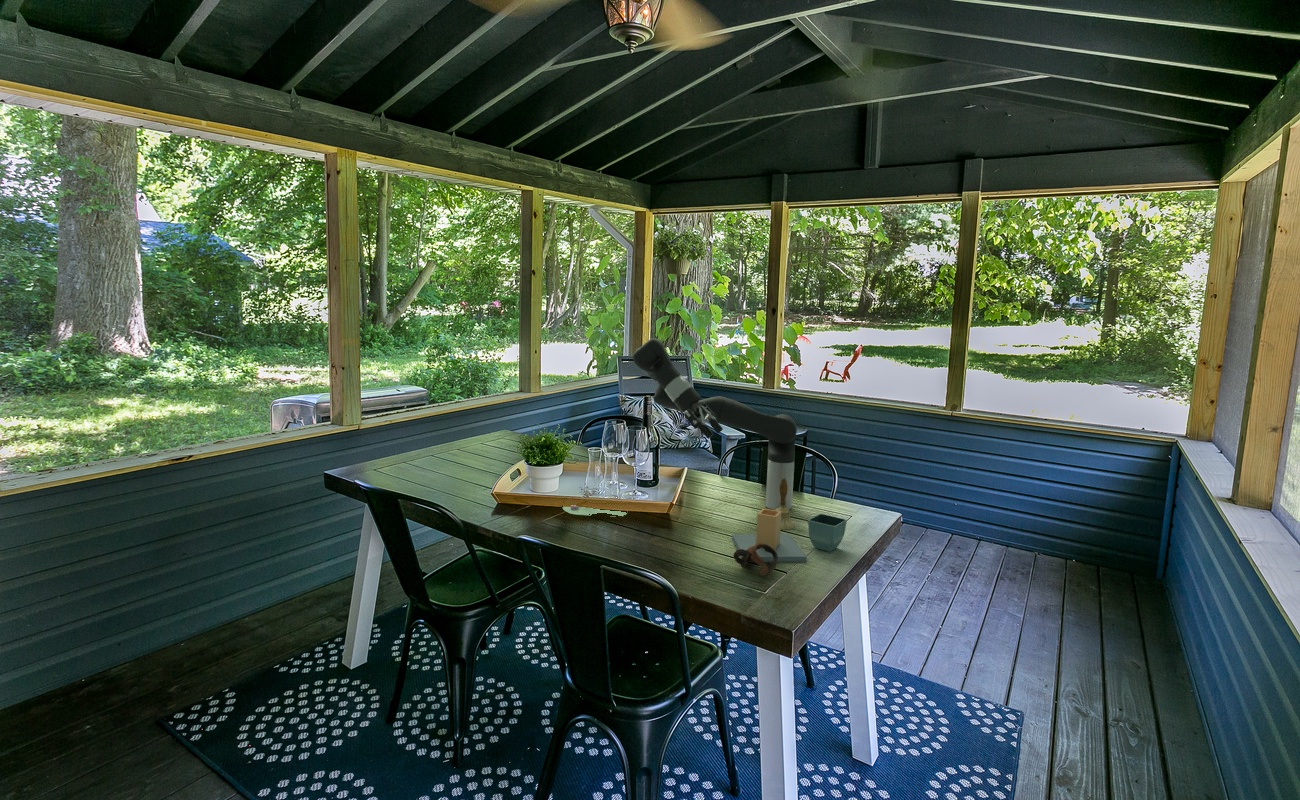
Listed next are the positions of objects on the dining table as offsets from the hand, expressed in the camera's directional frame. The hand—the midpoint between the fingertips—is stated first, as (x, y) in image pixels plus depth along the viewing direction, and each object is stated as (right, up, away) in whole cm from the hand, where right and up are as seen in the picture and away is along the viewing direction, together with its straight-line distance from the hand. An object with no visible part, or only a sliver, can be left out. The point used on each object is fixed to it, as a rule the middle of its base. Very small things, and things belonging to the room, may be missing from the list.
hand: (715, 434), depth 203 cm
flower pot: (+33, -34, -3) cm, 48 cm away
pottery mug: (+9, -37, -19) cm, 42 cm away
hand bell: (+23, -31, +17) cm, 42 cm away
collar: (+15, -33, -5) cm, 36 cm away
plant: (-39, -28, +31) cm, 57 cm away
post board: (+15, -34, -5) cm, 38 cm away
